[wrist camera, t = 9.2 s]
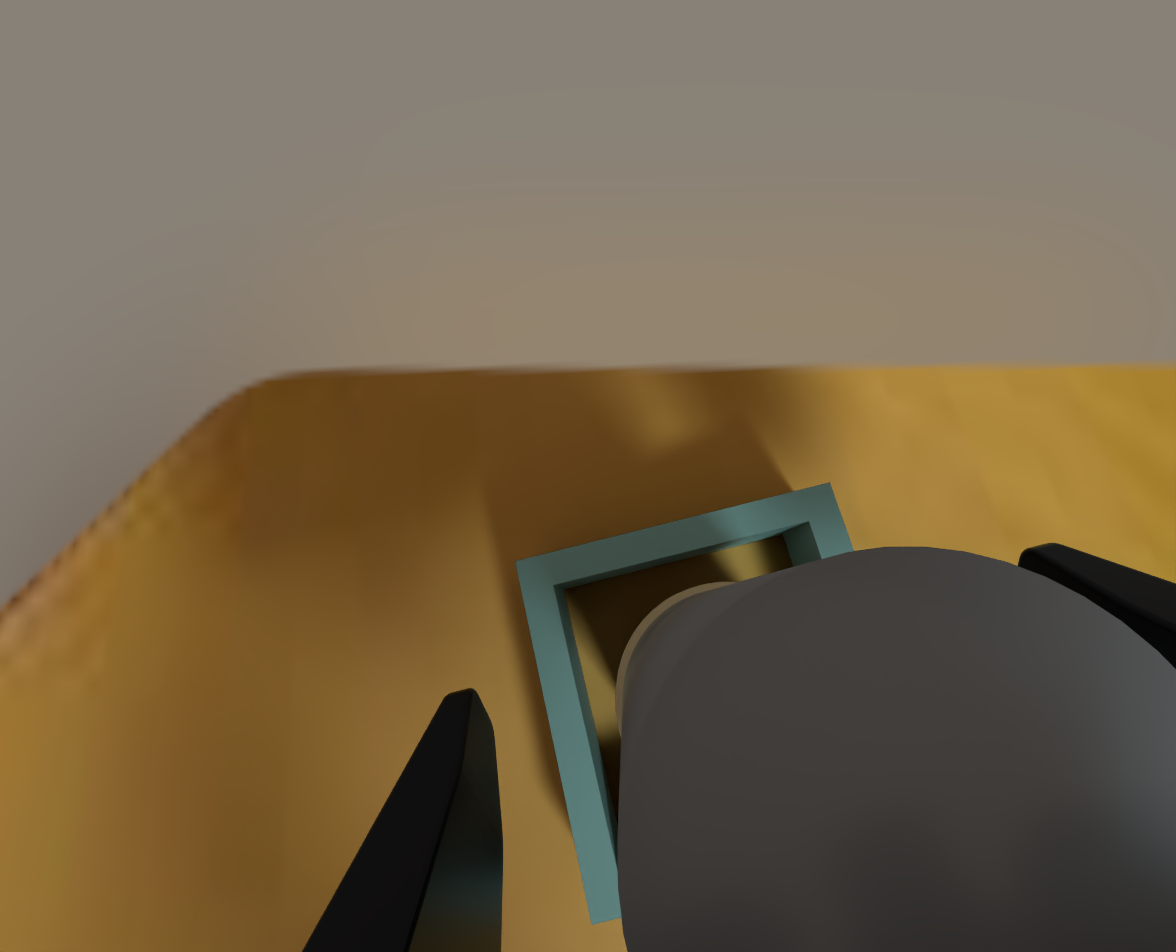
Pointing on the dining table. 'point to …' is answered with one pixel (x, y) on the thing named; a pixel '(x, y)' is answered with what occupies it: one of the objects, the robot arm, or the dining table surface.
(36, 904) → the dining table surface
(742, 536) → the frame
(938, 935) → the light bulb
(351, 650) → the dining table surface
